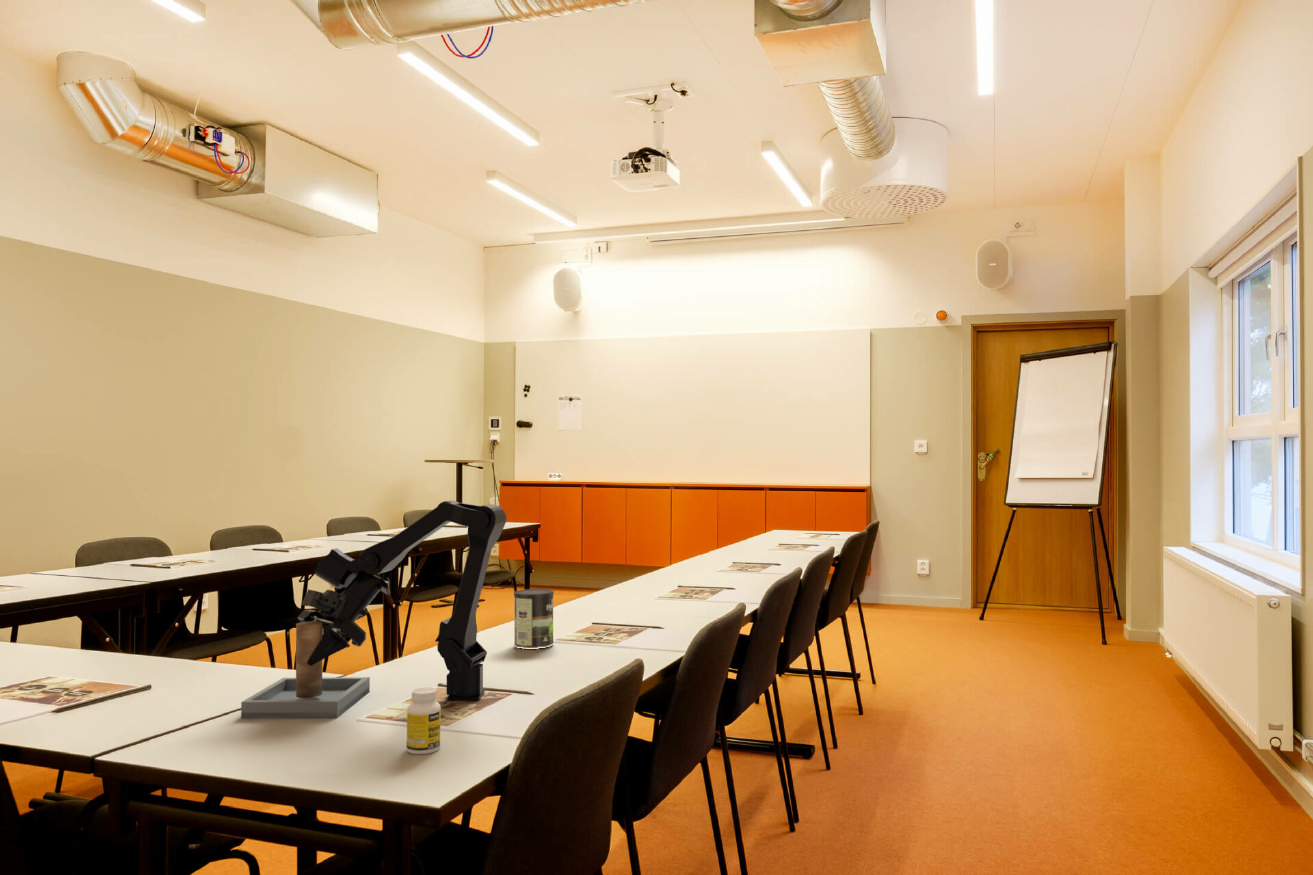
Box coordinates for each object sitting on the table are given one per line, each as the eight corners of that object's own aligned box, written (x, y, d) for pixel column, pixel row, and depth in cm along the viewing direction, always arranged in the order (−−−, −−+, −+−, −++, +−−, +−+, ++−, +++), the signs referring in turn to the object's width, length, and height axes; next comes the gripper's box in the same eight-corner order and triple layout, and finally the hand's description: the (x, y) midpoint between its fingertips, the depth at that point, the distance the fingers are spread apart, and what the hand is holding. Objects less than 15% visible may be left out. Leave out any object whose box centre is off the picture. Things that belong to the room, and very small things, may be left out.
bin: (369, 691, 177) (369, 677, 177) (337, 717, 159) (337, 701, 159) (283, 692, 177) (283, 677, 177) (241, 718, 159) (241, 702, 159)
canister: (326, 691, 170) (326, 621, 171) (316, 697, 165) (316, 625, 166) (302, 691, 170) (302, 621, 171) (291, 698, 165) (292, 625, 166)
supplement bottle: (431, 756, 138) (431, 695, 138) (400, 754, 139) (400, 693, 139) (446, 745, 143) (446, 686, 143) (416, 743, 144) (416, 685, 144)
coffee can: (556, 641, 226) (556, 588, 226) (550, 649, 216) (550, 594, 216) (517, 641, 226) (517, 588, 226) (510, 650, 216) (510, 594, 216)
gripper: (307, 570, 178) (253, 631, 169) (351, 578, 165) (295, 644, 157) (342, 603, 183) (292, 664, 175) (388, 613, 171) (336, 679, 162)
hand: (302, 662), depth 167 cm, fingers closed on canister, 5 cm apart
